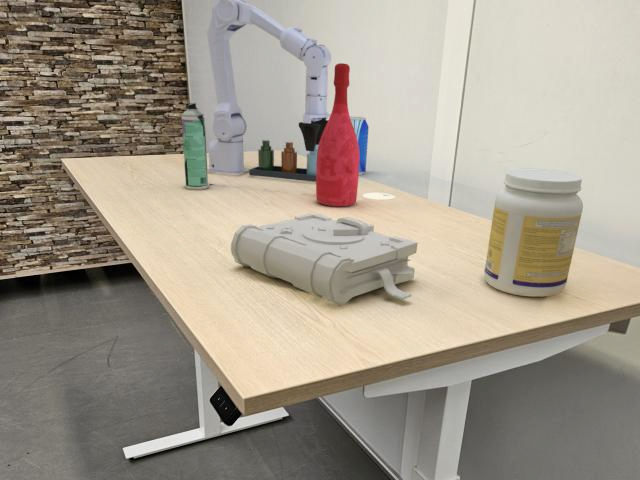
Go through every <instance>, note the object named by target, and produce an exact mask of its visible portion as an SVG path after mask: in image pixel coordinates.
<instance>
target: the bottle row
mask: <svg viewBox="0 0 640 480" xmlns="http://www.w3.org/2000/svg"><path fill="white" fill-rule="evenodd" d="M270 142H271V140H269V139H262V145H260V148H259V149H257V155H258V156H257V159H258V161H257V162H258V163H257V164H258V165H257V167H258V170H265V171H274V166H275V150H274V149H273V148H272V145H270V144H271V143H270ZM280 156H281V157H280V158H281V159H280V160H281V161H280V162H281V163H280V166H281V172H285V173H295V174H297V168H298V151H296V148H295V147H294V142H293V141H285V147H283V150H282V151H281V153H280Z"/></svg>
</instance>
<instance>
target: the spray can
mask: <svg viewBox="0 0 640 480" xmlns="http://www.w3.org/2000/svg"><path fill="white" fill-rule="evenodd" d="M181 132H182V148H183V161H184V162H183V164H184V175H185V176H184V179H185V188H186V189H187V190H193V191H198V190H206V189H208V188H209V179H208V158H207V137H206V118H205V113H202V111H200V109H199V108H198V107H197V103H196V102H190V103H188V107H187V108H186V110H185V111H184V112H183V113H181Z"/></svg>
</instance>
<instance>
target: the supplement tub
mask: <svg viewBox="0 0 640 480" xmlns="http://www.w3.org/2000/svg"><path fill="white" fill-rule="evenodd" d="M582 181H583V178H582V176H580V175H578V174H576V173H571V172H568V171H561V170H554V169H546V168H525V167H524V168H512V169H508V170H507V171H506V173H505V178H504V180H503V184H504V186H505V187H504V188H503V189H501V190H500V191H499V192H498V193H497V194H496V197H495V199H494V207H493V212H492V219H491V226H490V233H489V240H488V246H487V252H486V254H487V255H486V260H485V266H484V270H483V271H484V272H483V273H484V275H483V276H484V279H485V281H486V282H487V284H488V285H489V286H491V287H492V288H494V289H496V290H498V291H501V292H504V293H508V294H510V295H513V296H514V295H515V296H521V297H529V298H531V297H535V298H536V297H537V298H538V297H539V298H540V297H542V298H543V297H551V296H554V295H557V294H559V293H561V292H562V291H563V290H564V289H565V287H566V285H567V283H568V278H569V273H570V268H571V263H572V259H573V256H574V251H575V246H576V241H577V238H578V237H577V236H578V233H579V227H580V222H581V219H582V218H581V217H582V213H583V208H584V204H583V199H581V197H580V196H579V195H578V192H581V190H582Z"/></svg>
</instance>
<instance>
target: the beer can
mask: <svg viewBox="0 0 640 480" xmlns="http://www.w3.org/2000/svg"><path fill="white" fill-rule="evenodd" d="M349 116H350V115H349ZM350 119H351V122H352V125H353V128H354V131H355V134H356V137H357V141H358V145H359V153H360V160H359V176H362V175H365V173H366V170H367V158H368V157H367V156H368V155H367V154H368V143H369V141H368V139H369V124H368V122H367V120H366V119H367V118H366V117H363V116H350Z"/></svg>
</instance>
